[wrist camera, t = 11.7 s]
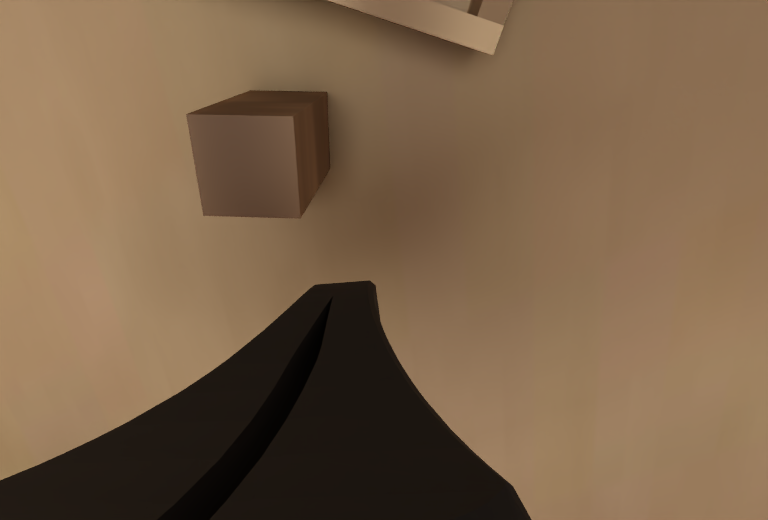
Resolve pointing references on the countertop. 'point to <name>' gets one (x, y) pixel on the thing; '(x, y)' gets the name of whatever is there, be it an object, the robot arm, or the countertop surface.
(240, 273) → the countertop surface
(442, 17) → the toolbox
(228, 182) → the brown wooden block
